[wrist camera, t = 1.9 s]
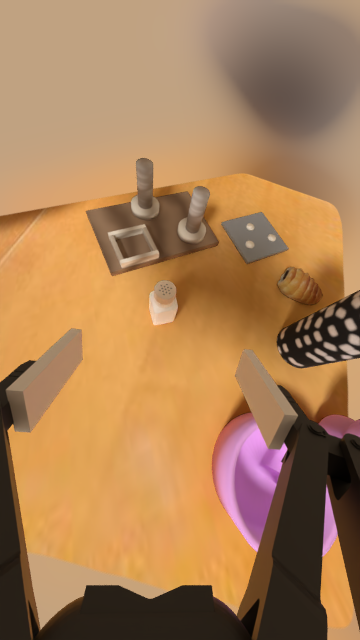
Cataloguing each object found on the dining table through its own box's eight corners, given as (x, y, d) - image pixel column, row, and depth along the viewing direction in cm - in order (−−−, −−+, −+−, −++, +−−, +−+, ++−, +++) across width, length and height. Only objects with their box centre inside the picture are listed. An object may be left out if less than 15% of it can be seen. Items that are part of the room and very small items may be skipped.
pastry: (319, 291, 45) (333, 282, 42) (311, 313, 43) (325, 306, 39) (282, 269, 46) (294, 259, 42) (272, 290, 43) (283, 281, 40)
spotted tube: (270, 329, 40) (377, 271, 21) (305, 323, 41) (433, 264, 23) (286, 372, 37) (425, 347, 18) (323, 363, 39) (484, 333, 20)
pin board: (111, 276, 39) (99, 234, 29) (87, 215, 43) (69, 161, 33) (217, 245, 45) (236, 203, 35) (186, 195, 49) (196, 145, 40)
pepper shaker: (169, 303, 38) (175, 275, 30) (174, 322, 37) (182, 299, 28) (148, 307, 37) (148, 279, 29) (153, 326, 36) (154, 304, 27)
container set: (232, 552, 27) (302, 683, 15) (199, 429, 31) (231, 449, 19) (370, 481, 32) (504, 533, 20) (324, 386, 37) (410, 380, 25)
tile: (246, 263, 45) (248, 261, 44) (221, 224, 48) (222, 221, 47) (287, 250, 48) (289, 247, 47) (260, 213, 51) (262, 210, 50)
